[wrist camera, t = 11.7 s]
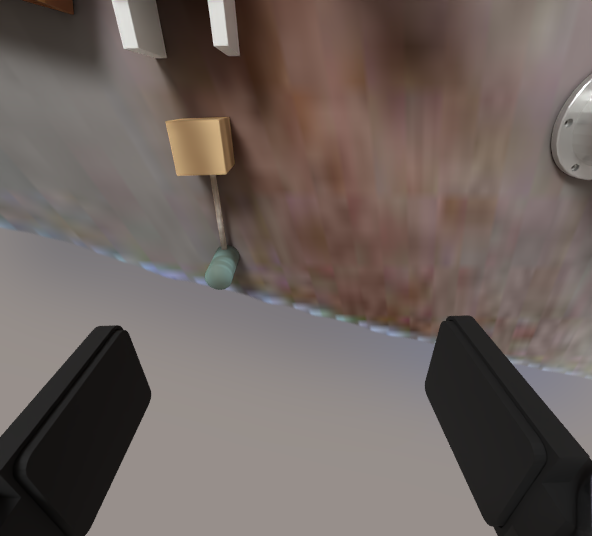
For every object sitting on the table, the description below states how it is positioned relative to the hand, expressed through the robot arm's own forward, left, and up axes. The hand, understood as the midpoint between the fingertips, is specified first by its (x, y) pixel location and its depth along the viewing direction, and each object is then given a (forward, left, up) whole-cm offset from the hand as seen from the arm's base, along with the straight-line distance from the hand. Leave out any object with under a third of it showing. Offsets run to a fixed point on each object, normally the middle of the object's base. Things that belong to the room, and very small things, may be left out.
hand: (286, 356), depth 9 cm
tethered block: (+9, +4, -30) cm, 32 cm away
